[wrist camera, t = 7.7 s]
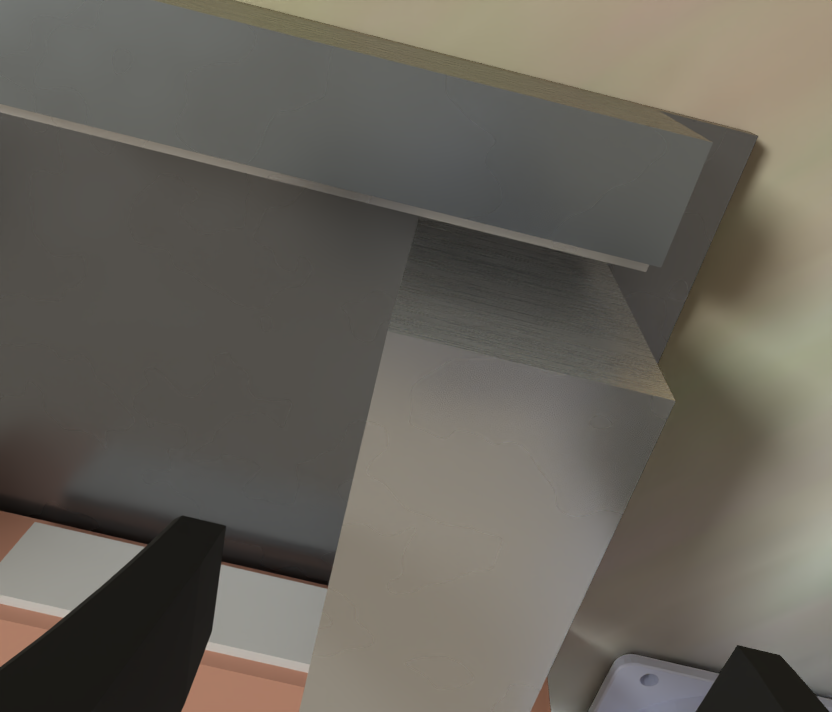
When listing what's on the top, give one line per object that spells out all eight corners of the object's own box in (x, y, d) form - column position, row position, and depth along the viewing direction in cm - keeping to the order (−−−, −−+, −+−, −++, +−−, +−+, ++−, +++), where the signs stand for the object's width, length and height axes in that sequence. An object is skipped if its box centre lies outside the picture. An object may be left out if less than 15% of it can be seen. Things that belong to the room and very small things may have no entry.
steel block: (604, 257, 15) (675, 401, 9) (499, 539, 18) (508, 758, 13) (420, 212, 15) (387, 331, 9) (351, 505, 18) (298, 712, 13)
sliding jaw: (546, 627, 19) (558, 735, 16) (521, 682, 20) (528, 792, 17) (-68, 486, 19) (-166, 572, 16) (-61, 550, 20) (-151, 641, 17)
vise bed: (749, 131, 14) (843, 175, 10) (510, 680, 22) (517, 815, 18) (-102, -86, 13) (-311, -118, 10) (-40, 556, 21) (-146, 669, 17)
